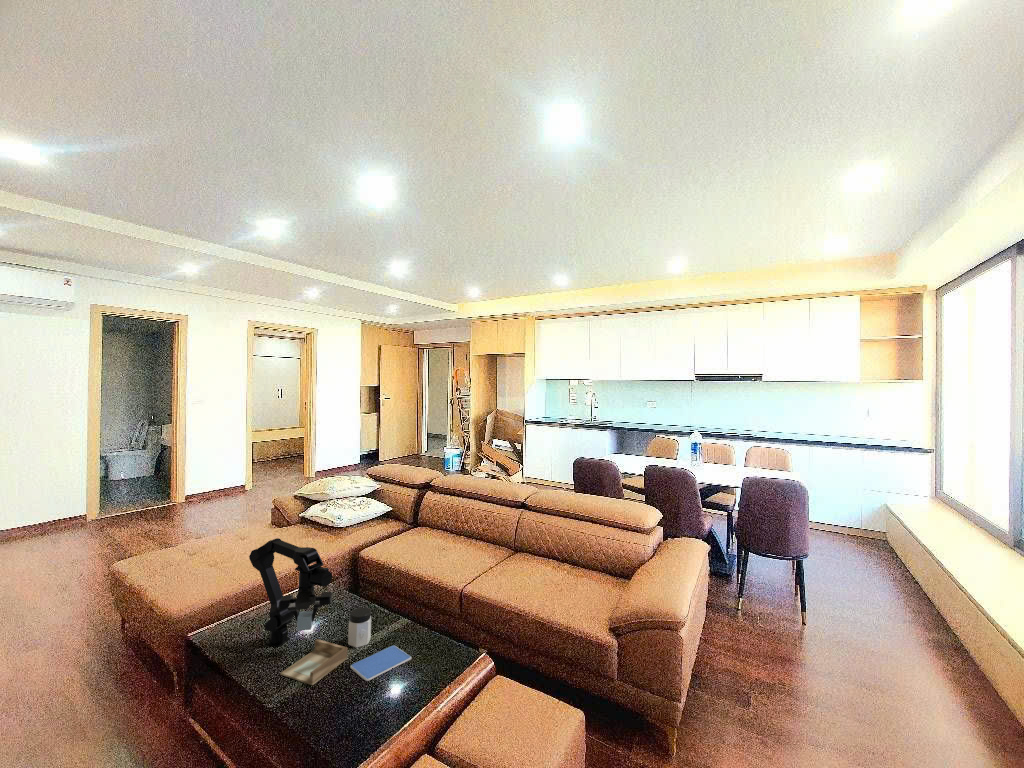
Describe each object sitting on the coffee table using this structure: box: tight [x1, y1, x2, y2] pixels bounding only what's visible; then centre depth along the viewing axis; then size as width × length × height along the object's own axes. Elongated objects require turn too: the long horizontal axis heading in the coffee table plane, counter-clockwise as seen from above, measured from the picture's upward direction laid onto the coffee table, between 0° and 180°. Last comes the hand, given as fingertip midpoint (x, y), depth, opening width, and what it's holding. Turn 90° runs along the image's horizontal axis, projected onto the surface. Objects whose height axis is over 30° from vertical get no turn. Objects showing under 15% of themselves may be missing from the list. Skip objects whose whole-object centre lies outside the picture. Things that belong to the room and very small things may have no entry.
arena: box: [280, 638, 349, 686], centre depth 163 cm, size 15×17×4 cm
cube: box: [296, 610, 314, 632], centre depth 173 cm, size 5×5×5 cm
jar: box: [347, 607, 372, 648], centre depth 179 cm, size 9×8×12 cm
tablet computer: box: [349, 644, 412, 682], centre depth 166 cm, size 19×13×1 cm, turn 139°
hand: (305, 622), depth 173 cm, fingers closed on cube, 5 cm apart
